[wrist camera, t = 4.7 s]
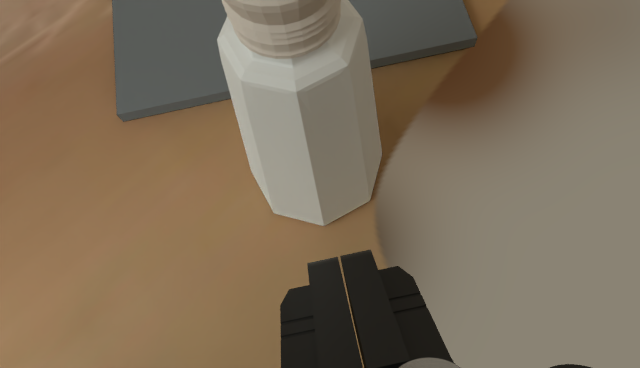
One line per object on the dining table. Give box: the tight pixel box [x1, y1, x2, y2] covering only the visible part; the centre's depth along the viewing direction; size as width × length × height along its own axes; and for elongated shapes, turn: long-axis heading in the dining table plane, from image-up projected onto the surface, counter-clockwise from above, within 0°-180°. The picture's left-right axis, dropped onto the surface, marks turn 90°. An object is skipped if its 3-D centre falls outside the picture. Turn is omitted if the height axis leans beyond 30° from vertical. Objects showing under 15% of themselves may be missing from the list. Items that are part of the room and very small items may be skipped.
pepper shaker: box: [217, 0, 382, 226], centre depth 14 cm, size 5×5×11 cm
